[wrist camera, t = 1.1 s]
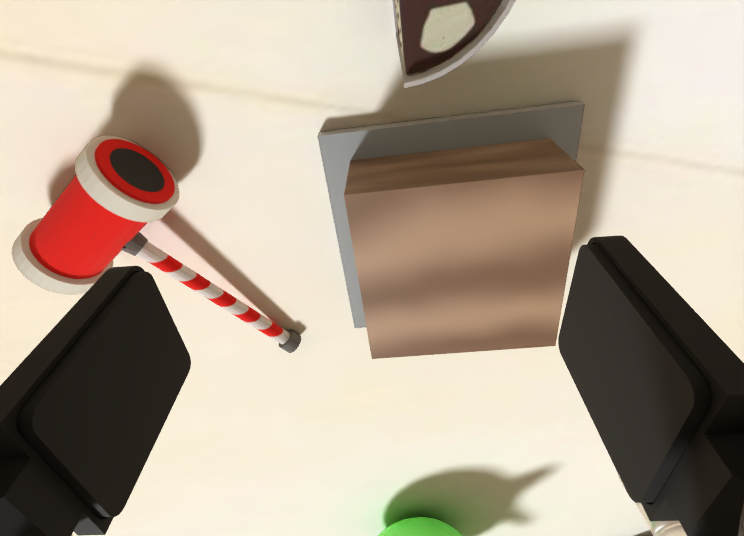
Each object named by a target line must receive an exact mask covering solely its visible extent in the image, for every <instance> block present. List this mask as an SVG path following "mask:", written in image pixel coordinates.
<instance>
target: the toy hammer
mask: <svg viewBox="0 0 744 536" xmlns="http://www.w3.org/2000/svg"><path fill="white" fill-rule="evenodd" d="M75 172H76V176H75V177H74V178H73V180H72V181H71V182H70V183H69V185H68V186H67V187H66V189H65V190H64V191H63V193H62V194H61V195H60V197H59V198H58V199H57V200H56V202H55V203H54V204H53V206H52V207H51V208H50V210H49V211H48V212H47V214H46V215H45V216H44V217H43V218H40V219H37V220H35V221H32V222H31V223H30V224H28V225H27V226H26V227H25V228H24V230H23V231H22V232H21V234H20V235H19V236H18V238H17V239H16V240H15V242H14V244H13V247H12V256H13V260H14V263H15V265H16V266H17V268H18V270H19V271H20V272H21V273H22V274H23V276H25V277H26V278H27V279H28V280H29V281H31V282H32V283H34V284H36V285H37V286H39V287H41V288H43V289H46V290H48V291H51V292H55V293H59V294H67V295H73V294H82V293H86V292H87V291H88V290H89V289H90V288H91V287H92V286H93V285H94V283H95V282H96V281H97V280H98V279H99V278H100V277H101V276H102V275H103V274H104V273H105V271H107V270H108V269H109V268H112V266H113V259H114V258H115V257H116V256H117V255H118V253H119V252H120V251H121V250H123V251H125V252H128V253H130V254H132V255H134V256H136V255H138V256H139V257H141V258H142V259H144V260H146V261H147V262H149V263H151V264H152V265H154V266H155V267H157V268H159V269H160V270H162V271H164V272H165V273H167V274H168V275H170V276H172V277H173V278H175V279H177V280H178V281H180V282H181V283H183V284H185V285H186V286H188V287H190V288H191V289H193V290H194V291H196V292H198V293H199V294H201V295H203V296H204V297H206V298H207V299H209V300H211V301H212V302H214V303H215V304H217V305H219V306H220V307H222V308H224V309H225V310H227V311H228V312H230V313H232V314H233V315H235V316H237V317H238V318H240V319H241V320H243V321H245V322H246V323H248V324H250V325H251V326H253V327H254V328H256V329H258V330H259V331H261V332H263V333H264V334H266V335H267V336H269V337H271V338H272V339H274V340H276V341H277V342H279V347H280V348H282V349H284V350H285V351H287V352H289V353H292V352H294V351H295V350H296V349H297V347H298V346H299V344H300V341H301V336H300V335H298V334H297V333H295V332H294V331H292V330H289V331H286V330H285V329H283V328H282V327H280V326H278V325H277V324H275V323H274V322H272V321H271V320H269V319H267V318H266V317H264V316H263V315H261V314H260V313H258V312H257V311H255V310H253V309H252V308H250V307H249V306H247V305H246V304H244V303H243V302H241V301H239V300H238V299H236V298H235V297H233V296H232V295H230V294H229V293H227V292H225V291H224V290H222V289H221V288H219V287H218V286H216V285H215V284H213V283H211V282H210V281H208V280H207V279H205V278H204V277H202V276H200V275H199V274H197V273H196V272H194V271H193V270H191V269H190V268H188V267H186V266H185V265H183V264H182V263H180V262H179V261H177V260H176V259H174V258H172V257H171V256H169V255H168V254H166V253H165V252H163V251H162V250H160V249H158V248H157V247H155V246H154V245H152V244H151V243H149V242H148V240H147V239H146V238H145V237H144V236H143V235H142V234H141V233H140V232H139V231H140V230H141V229H142V228H143V227H144V226H145V225H146V223H147V222H153V221H157V220H159V219H161V218H163V217H164V216H165V214H166V213H167V212H168V211H169V210H170V209H171V208H172V207H173V206H174V205H175V204H176V203H177V201H178V199H179V188H178V184H177V182H176V180H175V178H174V176H173V175H172V173H171V172H170V171H169V170H168V169H167V168H166V167H165V166H164V165H163V164H162V163H161V161H160V160H159V159H157V158H156V157H155V156H154V155H153V154H151V153H150V152H148V151H147V150H145V149H144V148H142V147H140V146H139V145H138V144H136V143H134V142H132V141H129V140H127V139H124V138H120V137H116V136H98V137H95V138H93V139H92V140H90V142H89V143H88V144H87V145H86V147H85V148H84V149H83V151H82V152H81V153H80V155H79V156H78V158H77V159H76V162H75Z"/></svg>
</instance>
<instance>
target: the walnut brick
mask: <svg viewBox="0 0 744 536" xmlns="http://www.w3.org/2000/svg"><path fill="white" fill-rule="evenodd" d="M583 175H584V169H583V168H582V167H581V166H580V165H579V164H577V163H576V162H575V161H574V160H573V159H572V158H571V157H570V156H569V155H568V154H567V153H566V152H564V151H563V150H562V149H561V148H560V147H559V146H558V145H557V144H556V143H555V142H554V141H553V140H551V139H550V138H546V139H537V140H529V141H520V142H511V143H502V144H493V145H484V146H475V147H466V148H457V149H448V150H439V151H431V152H422V153H413V154H404V155H395V156H386V157H377V158H368V159H359V160H350V165H349V170H348V175H347V181H346V186H345V192H344V199H345V205H346V210H347V216H348V222H349V228H350V234H351V239H352V245H353V251H354V257H355V263H356V268H357V274H358V280H359V286H360V292H361V297H362V303H363V309H364V315H365V321H366V326H367V332H368V338H369V344H370V350H371V355H372V359H377V358H391V357H405V356H419V355H433V354H447V353H461V352H475V351H489V350H503V349H517V348H531V347H545V346H555V345H556V338H557V332H558V326H559V320H560V314H561V308H562V302H563V296H564V290H565V284H566V278H567V272H568V266H569V260H570V254H571V248H572V242H573V235H574V229H575V223H576V217H577V211H578V205H579V199H580V193H581V187H582V181H583Z"/></svg>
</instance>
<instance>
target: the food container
mask: <svg viewBox="0 0 744 536" xmlns="http://www.w3.org/2000/svg"><path fill="white" fill-rule="evenodd" d="M514 2H515V0H393V8H394V18H395V29H396V38H397V44H398V50H399V56H400V62H401V67H402V73H403V79H404V88H408V87H412V86H416V85H420V84H424V83H426V82H429V81H431V80H434V79H436V78H439V77H441V76H443V75H445V74H446V73H448V72H450V71H451V70H453V69H455V68H456V67H458V66H460V65H461V64H462V63H464V62H465V61H466V60H467V59H469V58H470V57H471V56H472V55H473V54H475V53H476V52H477V51H478V50H479V49H480V48H481V47H482V46H483V45H484V44H485V43H486V42H487V41H488V40H489V38H490V37H491V36H492V35H493V34H494V33H495V32H496V30H497V29H498V27H499V26H500V25H501V23H502V22H503V20H504V19H505V18H506V16H507V15H508V13H509V12H510V10H511V8H512V6H513V4H514Z"/></svg>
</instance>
